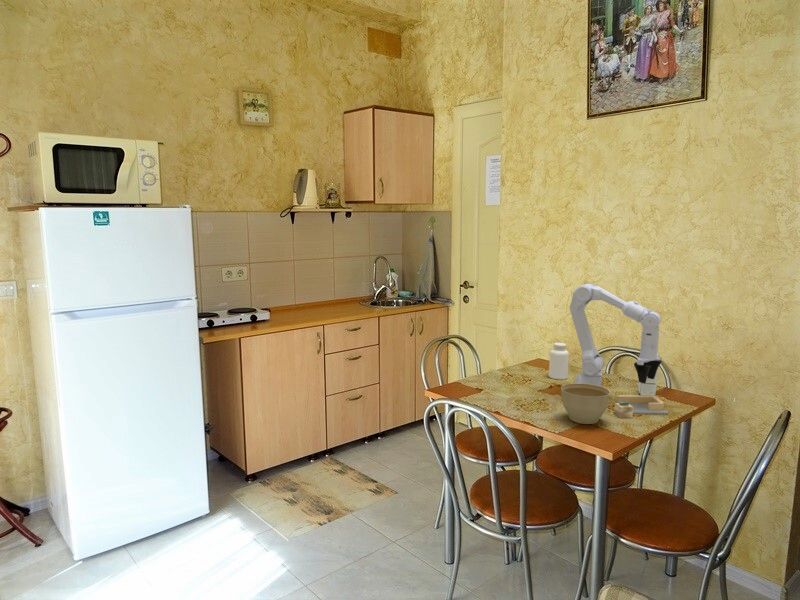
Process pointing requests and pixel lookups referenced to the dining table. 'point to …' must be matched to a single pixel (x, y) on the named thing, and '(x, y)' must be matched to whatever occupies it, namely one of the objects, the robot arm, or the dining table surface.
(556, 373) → the pill bottle
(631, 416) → the cabinet block
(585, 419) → the planter bowl
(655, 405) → the wall board
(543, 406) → the dining table surface
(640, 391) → the syrup box
